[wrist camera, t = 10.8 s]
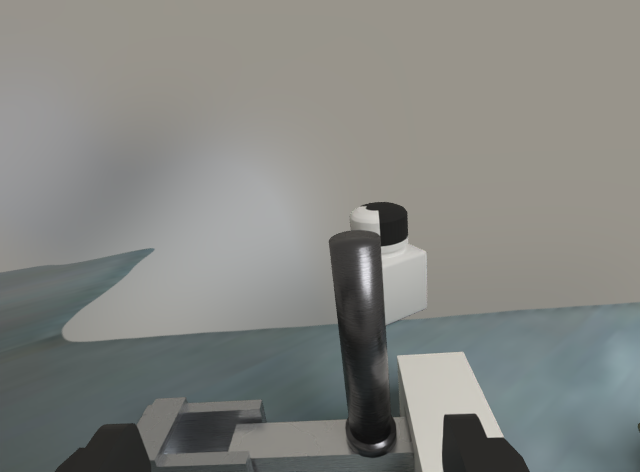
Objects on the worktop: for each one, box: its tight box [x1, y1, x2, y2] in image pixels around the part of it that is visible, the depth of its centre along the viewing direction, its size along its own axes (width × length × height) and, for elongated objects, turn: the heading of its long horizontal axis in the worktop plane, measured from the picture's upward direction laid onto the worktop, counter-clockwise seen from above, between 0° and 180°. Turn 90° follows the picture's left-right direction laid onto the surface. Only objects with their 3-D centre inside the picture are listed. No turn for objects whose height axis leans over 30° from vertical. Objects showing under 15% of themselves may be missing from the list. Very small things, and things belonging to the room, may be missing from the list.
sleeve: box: [136, 397, 267, 472], centre depth 27 cm, size 9×5×5 cm, turn 87°
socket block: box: [397, 352, 504, 472], centre depth 25 cm, size 5×10×6 cm, turn 177°
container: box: [350, 202, 427, 325], centre depth 45 cm, size 8×8×13 cm
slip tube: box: [228, 230, 415, 472], centre depth 23 cm, size 16×3×17 cm, turn 87°
